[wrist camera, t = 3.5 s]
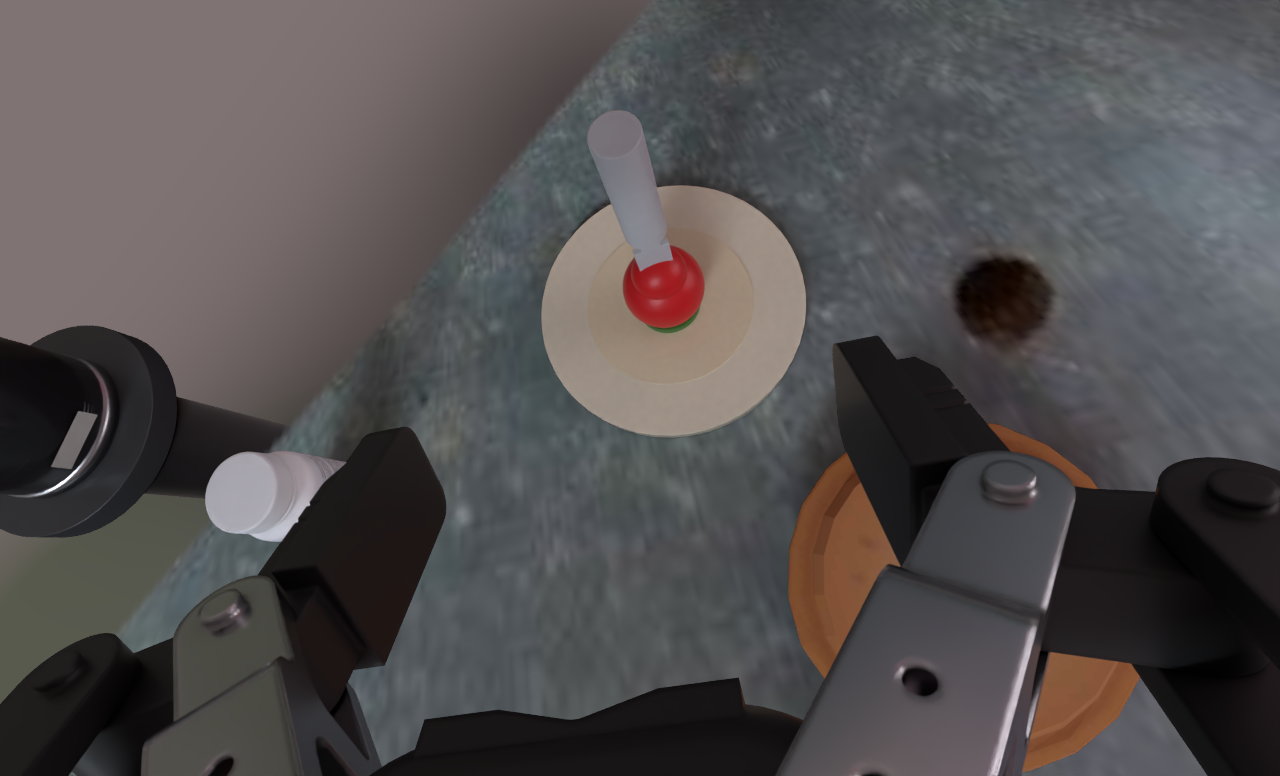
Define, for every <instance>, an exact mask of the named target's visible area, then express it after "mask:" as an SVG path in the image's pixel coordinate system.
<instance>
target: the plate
mask: <svg viewBox="0 0 1280 776" xmlns="http://www.w3.org/2000/svg"><path fill="white" fill-rule="evenodd" d="M657 190H658V194H659V198H660V201H661V205H662V209H663V213H664V217H665V221H666V226H667V230H666V235H665V237H664V239H666V238H667V239H668V242H669V245H672V246H676V247H679V248H681V249H683V250H685V251H686V252H688V253H689V254H690V255H691V256H692V257H693V258H694V259H695V260H696V261H697V263H698V264H699V266H700V268H701V270H702V273H703V276H704V282H705V290H704V296H703V299H702V302H701V304H700V309H699V312H698V315H697V316H696V318H695V320H694V321H693V322H692V323H691V324H690V325H689V326H687V327H686V328H684V329H683V330H680V331H678V332H674V333H661V332H657V331H655V330H652V329H651V328H649V327H648V326H647V325H646V324H645V323H643V322H641V321H640V320H639V319H637V318H636V317H635V316H634V315H633V314H632V312H631V311H630V310H629V308H628V306H627V305H626V302H625V299H624V295H623V278H624V274H625V271H626V269H627V267H628V265H629V263H630V262H631V261H632V259H633V258H634V254H633V251H632V250H634V249H636V248H634V247H632V246H631V245H629V244H628V242H627V241H626V239H625V237H624V234H623V232H622V229H621V227H620V224H619V222H618V219H617V217H616V214H615V212H614V209H613V207H612V204H610V205H608V206H606V207H605V208H603V209H602V210H600V211H599V212H597V213H596V214H595V215H593V216H592V217H590V218H589V219H588V220H587V221H586V222H585V223H584V224H583V225H582V226H581V227H580V228H578V230H577V231H576V232H575V233H574V234H573V235H572V237H571V238H570V239H569V240H568V241H567V243H566V244H565V246H564V247H563V249H562V250H561V252H560V253H559V255H558V257H557V259H556V261H555V263H554V265H553V267H552V269H551V271H550V274H549V277H548V280H547V282H546V286H545V291H544V295H543V301H542V313H541V318H542V333H543V338H544V344H545V348H546V351H547V354H548V357H549V360H550V362H551V364H552V366H553V368H554V370H555V372H556V374H557V376H558V378H559V379H560V381H561V382H562V384H563V385H564V386H565V388H566V389H567V390H568V391H569V393H570V394H571V395H572V396H573V397H574V398H575V399H576V400H577V401H578V402H579V403H580V404H581V405H583V406H584V407H585V408H586V409H587V410H589V411H590V412H591V413H592V414H594V415H595V416H597V417H598V418H600V419H602V420H603V421H605V422H607V423H608V424H611V425H613V426H615V427H617V428H620V429H622V430H625V431H628V432H632V433H635V434H639V435H645V436H651V437H665V438H677V437H685V436H693V435H698V434H702V433H706V432H710V431H713V430H715V429H718V428H720V427H723V426H725V425H728V424H730V423H732V422H733V421H735V420H737V419H739V418H741V417H743V416H744V415H746V414H747V413H748V412H750V411H751V410H752V409H754V408H755V407H757V406H758V405H759V404H760V403H761V402H762V401H763V400H764V399H765V398H766V397H767V396H768V395H770V394H771V393H772V391H773V390H774V389H775V388H776V386H777V385H778V384H779V383H780V381H781V380H782V379H783V377H784V376H785V374H786V372H787V371H788V369H789V367H790V366H791V364H792V362H793V359H794V357H795V355H796V352H797V350H798V348H799V344H800V340H801V337H802V333H803V329H804V324H805V315H806V291H805V285H804V279H803V275H802V272H801V269H800V266H799V262H798V260H797V258H796V256H795V254H794V252H793V250H792V248H791V246H790V244H789V243H788V241H787V240H786V238H785V237H784V235H783V234H782V232H781V231H780V230H779V229H778V228H777V227H776V226H775V225H774V224H773V223H772V221H771V220H769V219H768V218H767V217H766V216H765V215H763V214H762V213H761V212H760V211H759V210H757V209H756V208H754V207H753V206H751V205H749V204H748V203H746V202H745V201H743V200H741V199H738V198H736V197H734V196H732V195H730V194H727V193H724V192H720V191H717V190H714V189H709V188H704V187H698V186H684V185H679V186H664V187H658V188H657Z"/></svg>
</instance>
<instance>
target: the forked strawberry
mask: <svg viewBox="0 0 1280 776" xmlns="http://www.w3.org/2000/svg"><path fill="white" fill-rule="evenodd" d="M587 143H588V146H589V149H590V151H591V154H592V157H593V159H594V162H595V164H596V167H597V169H598V172H599V174H600V177H601V179H602V182H603V184H604V187H605V189H606V192H607V194H608V197H609V199H610V202H611V204H612V207H613V209H614V212H615V214H616V217H617V219H618V222H619V224H620V227H621V229H622V232H623V234H624V237H625V239H626V241H627V242H628V244H629V245H631V246H632V247H634V248H636V249H634V250H632V251H633V254H634V258H633V259H632V261H631V262H630V263H629V265H628V267H627V269H626V271H625V274H624V278H623V295H624V299H625V302H626V305H627V306H628V308H629V310H630V311H631V312H632V314H633V315H634V316H635V317H636V318H637V319H639V320H640V321H641V322H643V323H645V324H646V325H647V326H648V327H649V328H651V329H652V330H655V331H657V332H661V333H674V332H678V331H680V330H683V329H684V328H686V327H687V326H689V325H690V324H691V323H692V322H693V321H694V320H695V318H696V316H697V315H698V312H699V309H700V304H701V302H702V299H703V296H704V290H705V282H704V276H703V273H702V270H701V268H700V266H699V264H698V263H697V261H696V260H695V259H694V258H693V257H692V256H691V255H690V254H689V253H688V252H686V251H685V250H683V249H681V248H679V247H676V246H672V245H669V242H668V239H667V238H666V239H664V237H665V235H666V230H667V226H666V221H665V217H664V213H663V209H662V205H661V201H660V198H659V194H658V190H657V186H656V182H655V178H654V174H653V170H652V166H651V162H650V158H649V154H648V150H647V146H646V142H645V138H644V134H643V130H642V126H641V123H640V122H639V120H638V119H637V118H636V117H635V116H634V115H633V114H631V113H629V112H627V111H622V110H613V111H609V112H606V113H604V114H602V115H600V116H599V117H598V118H596V119H595V120H594V121H593V123H592V124H591V126H590V128H589V130H588V134H587Z"/></svg>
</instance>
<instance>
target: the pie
mask: <svg viewBox="0 0 1280 776" xmlns="http://www.w3.org/2000/svg"><path fill="white" fill-rule="evenodd" d="M987 424H988V423H987ZM988 425H989V427H990V428H991V429H992V430H993V431H994V432H995V434H996V435H997V436H998V437H999V438H1000V439H1001V440H1002V442H1003V443H1004V444H1005V445H1006V446H1007V447H1008V449H1009V450H1010V451H1011V452H1018V453H1023V454H1027V455H1031V456H1034V457H1037V458H1040V459H1042V460H1045V461H1047V462H1049V463H1051V464H1053V465H1054V466H1056V467H1057V468H1059V469H1060V470H1061V471H1063V472H1064V473H1065V474H1066V475H1067V476H1068V477H1069V479H1070V480H1071V481H1072V483H1073V485H1074V486H1078V487H1084V488H1093V489H1098V488H1097V486H1096V485H1095V484H1094V483H1093V481H1092V480H1091V479H1090V477H1089V476H1087V475H1086V474H1085V473H1083V472H1082V471H1081V470H1079V469H1078V468H1077V467H1075V466H1074V465H1073V464H1072V463H1070V462H1069V461H1068V460H1066V459H1065V458H1064V457H1062V456H1061V455H1060V454H1058V453H1057V452H1056V451H1054V450H1053V449H1052V448H1050V447H1049V446H1048V445H1046V444H1043V443H1041V442H1039V441H1036V440H1034V439H1032V438H1029V437H1027V436H1024V435H1022V434H1020V433H1017V432H1015V431H1012V430H1010V429H1008V428H1005V427H1003V426H1001V425H998V424H988ZM888 564H893V565H896V566H899V567H901V566H900V564H899V562H898V560H897V558H896V556H895V554H894V552H893V550H892V547H891V545H890V543H889V541H888V539H887V537H886V535H885V533H884V531H883V528H882V526H881V524H880V522H879V520H878V518H877V516H876V514H875V511H874V509H873V507H872V505H871V503H870V501H869V499H868V497H867V495H866V492H865V490H864V488H863V486H862V484H861V482H860V480H859V478H858V476H857V473H856V471H855V469H854V467H853V465H852V463H851V461H850V459H849V456H848V454H847V452H846V453H845V454H843V455H842V456H841V457H840V458H838V459H837V460H836V461H835V462H834V463H832V464H831V465H830V466H829V467H827V468H826V470H825V471H824V473H823V474H822V476H821V477H820V479H819V480H818V482H817V483H816V485H815V486H814V487H813V489H812V490H811V492H810V493H809V495H808V496H807V498H806V499H805V501H804V502H803V503H802V506H801V509H800V513H799V516H798V520H797V523H796V527H795V530H794V533H793V537H792V540H791V544H790V547H789V578H788V598H789V602H790V606H791V609H792V613H793V617H794V621H795V625H796V628H797V632H798V636H799V640H800V643H801V646H802V647H803V649H804V650H805V652H806V653H807V654H808V656H809V657H810V659H811V660H812V662H813V663H814V664H815V666H816V667H817V669H818V670H819V672H820V673H821V675H822V676H823V677H824V679H825V677H826V675H827V674H828V672H829V670H830V668H831V666H832V664H833V662H834V660H835V658H836V656H837V654H838V652H839V650H840V648H841V646H842V644H843V642H844V640H845V638H846V637H847V635H848V633H849V631H850V629H851V627H852V625H853V623H854V621H855V619H856V617H857V615H858V613H859V611H860V609H861V607H862V605H863V603H864V601H865V600H866V598H867V596H868V594H869V592H870V590H871V588H872V586H873V584H874V582H875V580H876V578H877V576H878V575H879V573H880V572H881V570H882V569H883V568H884V567H885V566H886V565H888ZM1139 678H1140V676H1139V675H1138V673H1137V672H1136V670H1135V669H1134V667H1133V666H1132V664H1131V663H1124V662H1117V661H1110V660H1103V659H1096V658H1088V657H1081V656H1074V655H1067V654H1060V653H1053V652H1051V654H1050V658H1049V662H1048V666H1047V670H1046V674H1045V678H1044V683H1043V687H1042V691H1041V695H1040V699H1039V703H1038V707H1037V712H1036V716H1035V720H1034V724H1033V728H1032V732H1031V736H1030V741H1029V745H1028V749H1027V753H1026V757H1025V761H1024V766H1023V770H1022V772H1029V771H1032V770H1034V769H1037V768H1039V767H1042V766H1044V765H1047V764H1049V763H1052V762H1054V761H1057V760H1059V759H1061V758H1064V757H1066V756H1069V755H1071V754H1074V753H1076V752H1078V751H1079V750H1080V749H1081V748H1082V747H1084V746H1085V745H1086V744H1087V743H1088V742H1089V741H1091V740H1092V739H1093V738H1094V737H1095V736H1097V735H1098V734H1099V733H1100V732H1101V731H1103V730H1104V729H1105V728H1106V727H1107V726H1108V725H1110V724H1111V723H1112V722H1113V721H1114V720H1116V719H1117V718H1118V716H1119V714H1120V712H1121V711H1122V709H1123V707H1124V705H1125V703H1126V702H1127V700H1128V698H1129V696H1130V694H1131V692H1132V691H1133V689H1134V687H1135V685H1136V683H1137V682H1138V680H1139Z"/></svg>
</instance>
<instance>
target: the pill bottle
mask: <svg viewBox="0 0 1280 776" xmlns="http://www.w3.org/2000/svg"><path fill="white" fill-rule="evenodd" d="M344 464H346V462H344V461H339V460H333V459H328V458H323V457H318V456H313V455H308V454H302V453H298V452H292V451H276V452H271V453H268V454H266V453H256V452H242V453H238V454H236V455H233V456H231V457H230V458H228V459H226V460H225V461H224V462H223V463H221V464H220V465H219V466H218V468H217V469H216V470H215V472H214V473H213V475H212V477H211V478H210V481H209V483H208V486H207V490H206V497H205V499H206V501H205V503H206V509H207V513H208V515H209V517H210V519H211V521H212V522H213V523H214V524H215V525H216V526H217V527H218V528H220V529H221V530H223V531H226V532H229V533H239V534H250V535H251V536H253V537H255V538H257V539H260V540H264V541H276V542H281V541H282V540H283V539H284V537H285V536H286V534H287V533H288V532H289V530H290V529H291V527H292V526H293V525H294V523H297V522H298V518H299V516H300V515H301V513H302V512H303V511H304V509H305V508H306V506H310V503H309V502H310V501H311V499H312V498H313V497H314V495H315V494H316V492H317V491H318V490H319V488H320V487H321V485H322V484H323V483H324V482H325V481H326V480H327V479H328V478H329V477H331V476H332V475H333V474H334V473H335V472H336V471H338V470H339V469H340V468H341V467H342V466H343V465H344Z"/></svg>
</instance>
